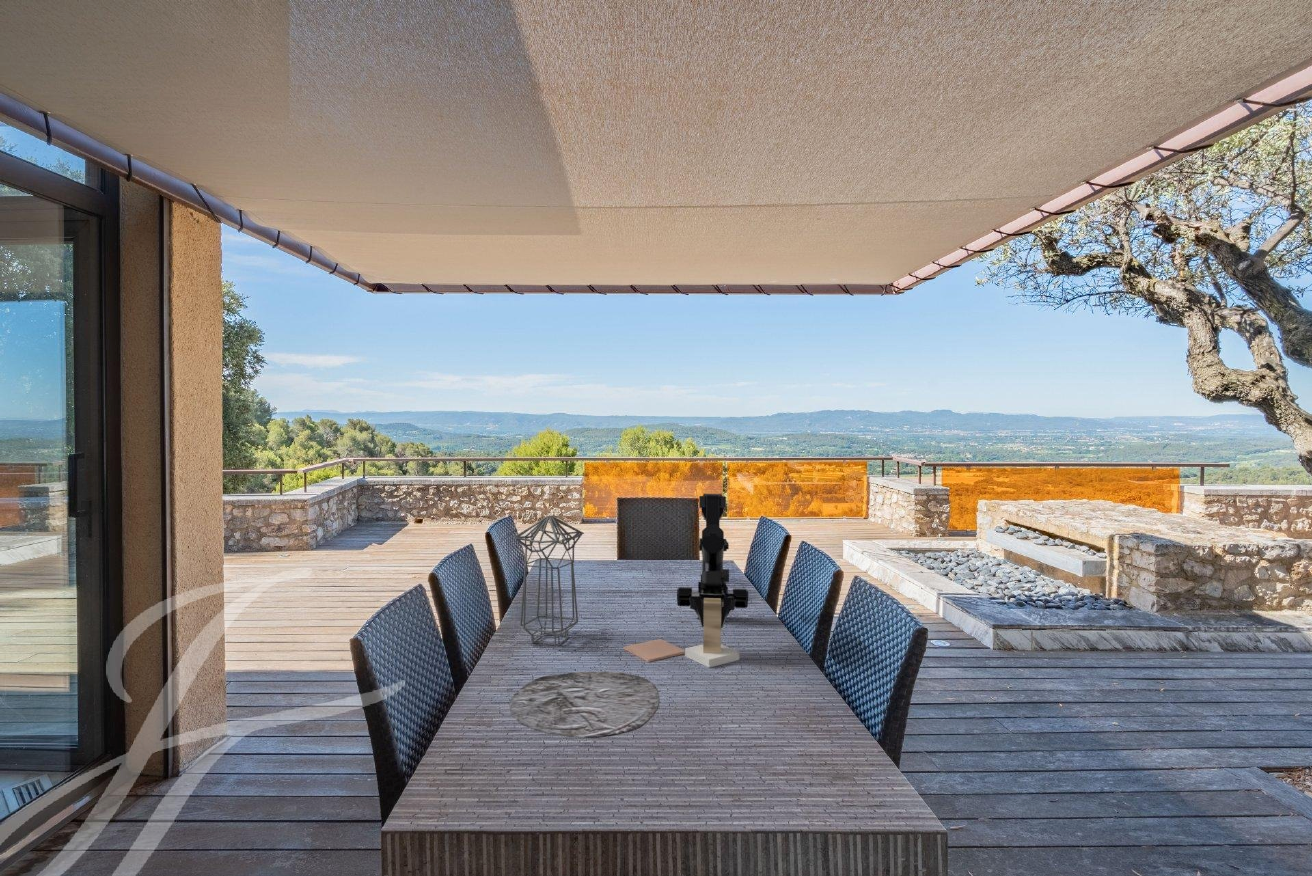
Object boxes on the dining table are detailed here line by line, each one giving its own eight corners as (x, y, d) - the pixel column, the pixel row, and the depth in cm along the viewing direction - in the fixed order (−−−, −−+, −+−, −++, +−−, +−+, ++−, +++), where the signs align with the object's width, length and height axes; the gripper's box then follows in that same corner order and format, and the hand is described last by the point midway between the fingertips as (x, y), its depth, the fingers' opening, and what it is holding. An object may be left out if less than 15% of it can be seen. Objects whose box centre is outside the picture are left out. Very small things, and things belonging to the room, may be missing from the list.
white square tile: (714, 648, 184) (714, 641, 184) (739, 659, 175) (739, 652, 175) (684, 655, 178) (685, 648, 178) (709, 667, 170) (709, 659, 170)
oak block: (703, 647, 179) (703, 597, 179) (720, 647, 179) (721, 598, 178) (703, 652, 175) (703, 602, 174) (720, 653, 174) (721, 603, 174)
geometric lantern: (561, 652, 180) (562, 521, 179) (509, 645, 185) (510, 517, 184) (586, 634, 195) (587, 513, 194) (538, 629, 200) (538, 510, 199)
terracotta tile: (660, 640, 190) (660, 638, 190) (686, 653, 180) (686, 650, 180) (623, 648, 183) (623, 646, 183) (648, 662, 173) (648, 659, 173)
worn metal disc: (515, 748, 128) (515, 746, 128) (505, 679, 162) (505, 678, 162) (684, 728, 137) (684, 726, 137) (641, 667, 170) (641, 665, 170)
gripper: (677, 556, 181) (675, 609, 170) (748, 558, 179) (750, 612, 169) (678, 579, 189) (676, 631, 178) (746, 581, 187) (748, 633, 177)
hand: (712, 626), depth 175 cm, fingers closed on oak block, 4 cm apart
